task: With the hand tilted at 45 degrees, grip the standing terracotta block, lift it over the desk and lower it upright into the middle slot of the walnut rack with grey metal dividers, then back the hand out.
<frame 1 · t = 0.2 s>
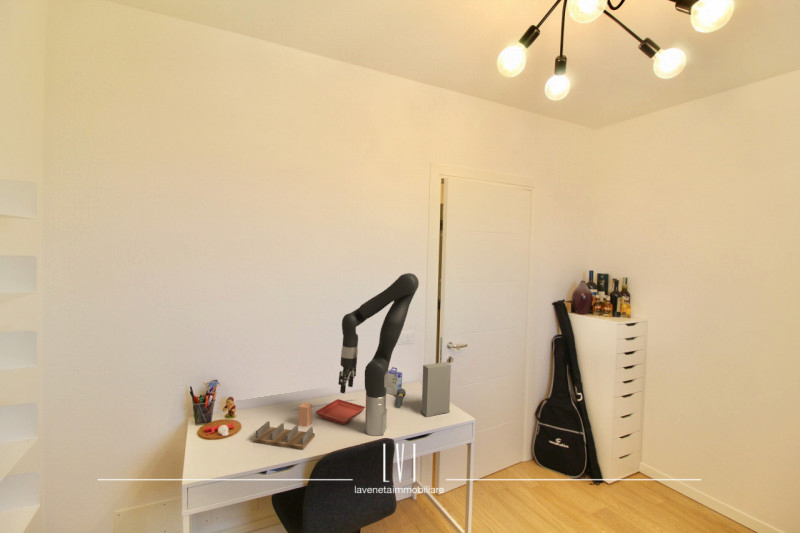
hand: (346, 389, 163), 18 cm above the table, fingers open, 8 cm apart
flashlight: (400, 401, 195), on the table
plant saucer: (340, 415, 177), on the table
ink cartridge box: (392, 392, 206), on the table
terracotta block: (304, 423, 167), on the table
walnut rack: (284, 439, 152), on the table
tall grey upright block: (435, 412, 182), on the table
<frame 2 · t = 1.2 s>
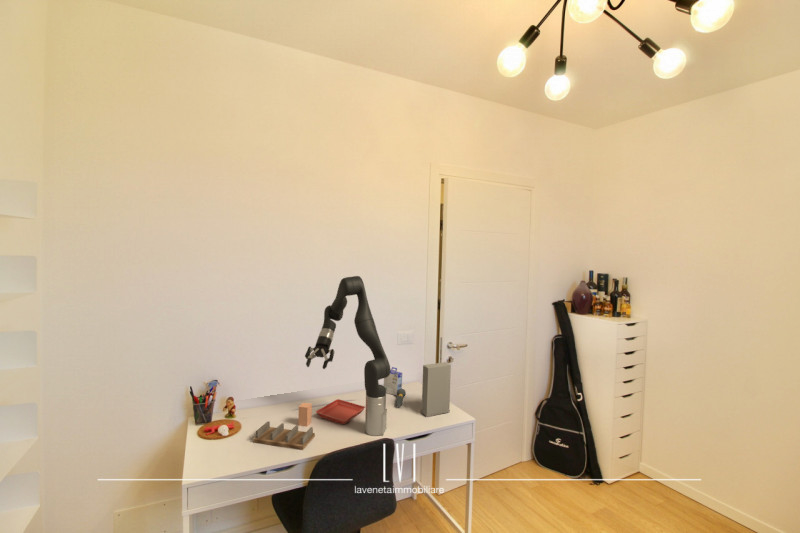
hand: (315, 367, 176), 24 cm above the table, fingers open, 8 cm apart
nothing on the table moved.
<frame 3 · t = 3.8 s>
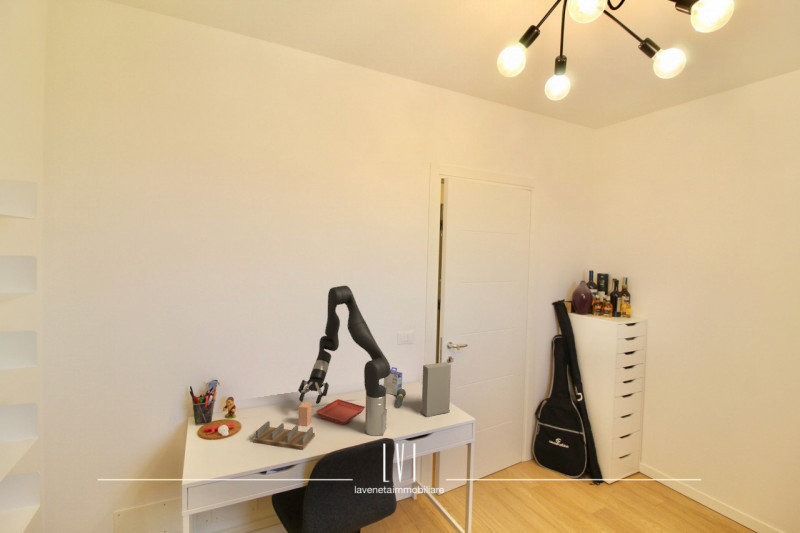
hand: (308, 402, 170), 9 cm above the table, fingers open, 8 cm apart
nothing on the table moved.
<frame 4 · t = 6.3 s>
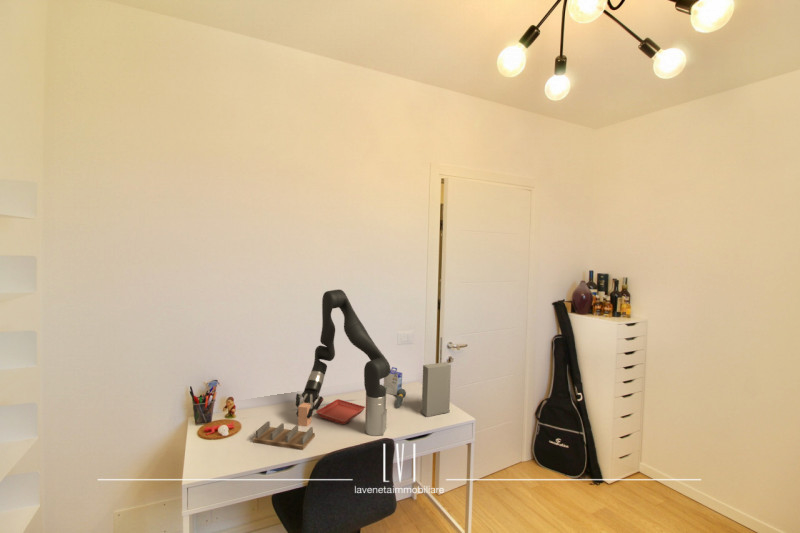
hand: (303, 416, 165), 4 cm above the table, fingers closed on terracotta block, 4 cm apart
terracotta block: (304, 423, 167), on the table, touching gripper
everything else where it was.
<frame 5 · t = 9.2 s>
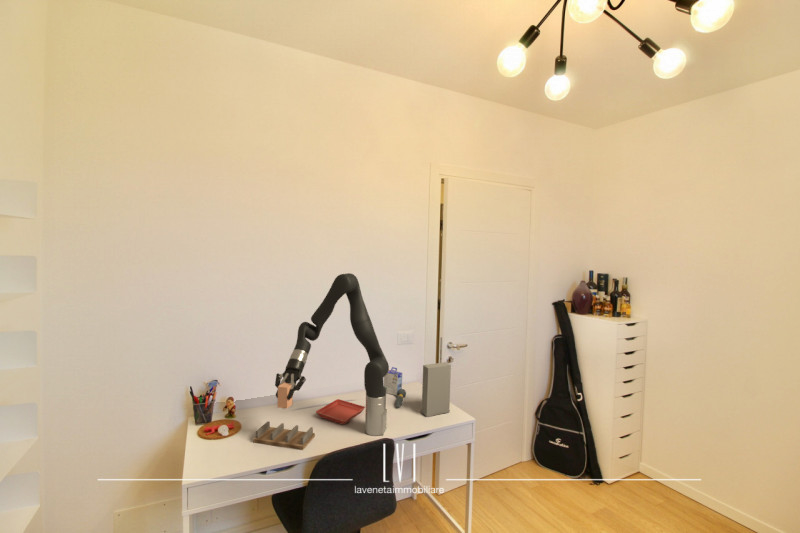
hand: (282, 398, 150), 19 cm above the table, fingers closed on terracotta block, 4 cm apart
terracotta block: (285, 405, 152), point 15 cm above the table, touching gripper
everything else where it was.
when the fingers open (7 cm above the table, at t = 12.2 s): terracotta block drops 1 cm, resting on walnut rack.
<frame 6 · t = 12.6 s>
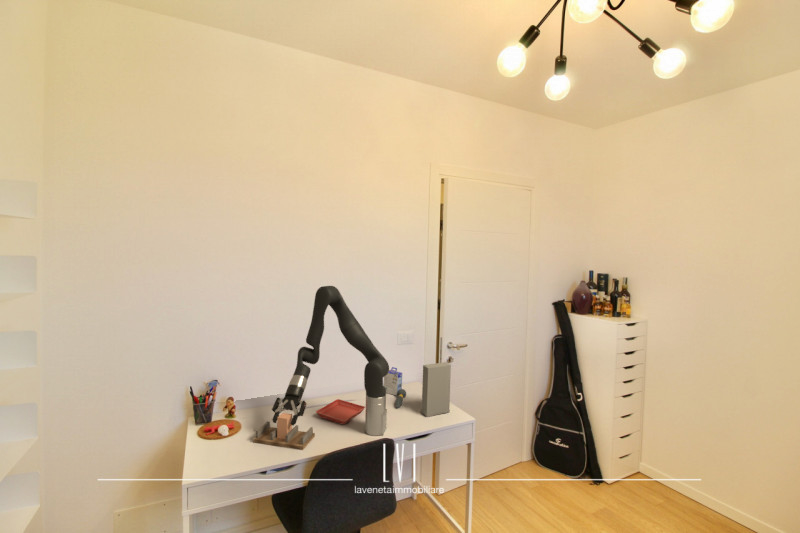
hand: (283, 423, 151), 8 cm above the table, fingers open, 8 cm apart
terracotta block: (284, 436, 152), point 1 cm above the table, touching walnut rack
everything else where it was.
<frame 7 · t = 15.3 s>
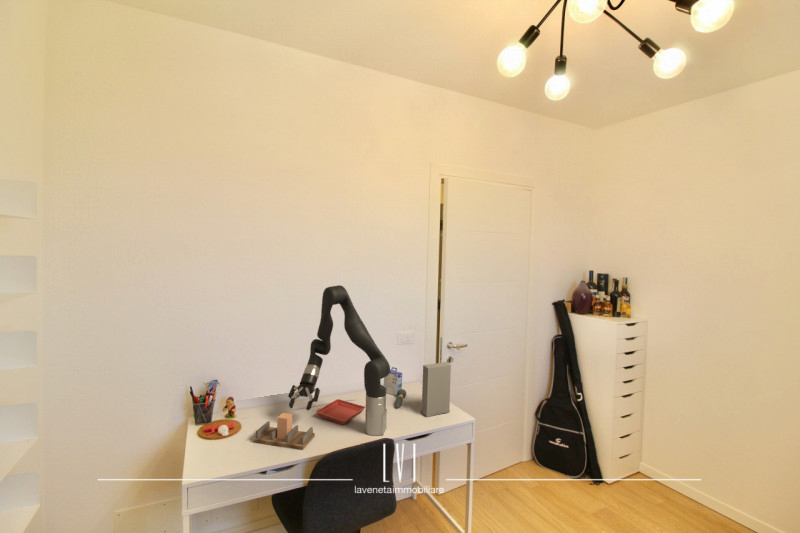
hand: (299, 408, 164), 8 cm above the table, fingers open, 8 cm apart
nothing on the table moved.
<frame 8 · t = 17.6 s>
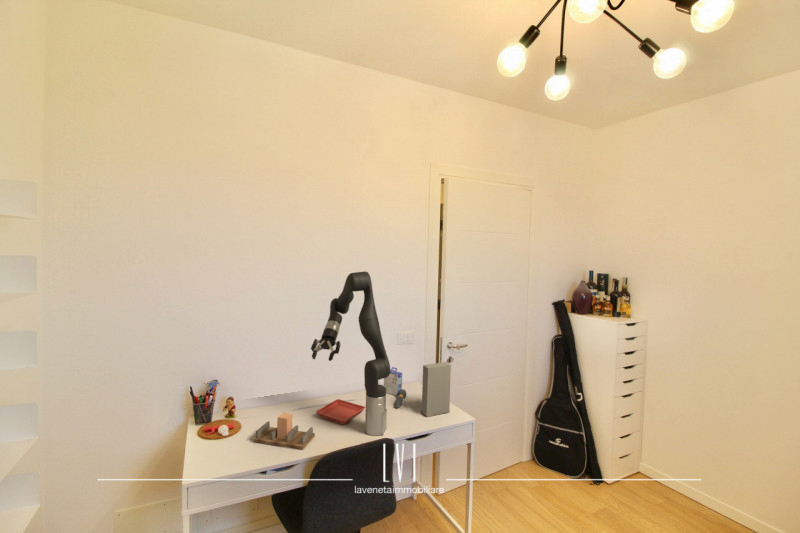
hand: (321, 359, 173), 29 cm above the table, fingers open, 8 cm apart
at the end: terracotta block 0.0 cm off-centre on the walnut rack, point 1.5 cm above the walnut rack's base; terracotta block tilted 0°; the gripper is holding nothing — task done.
